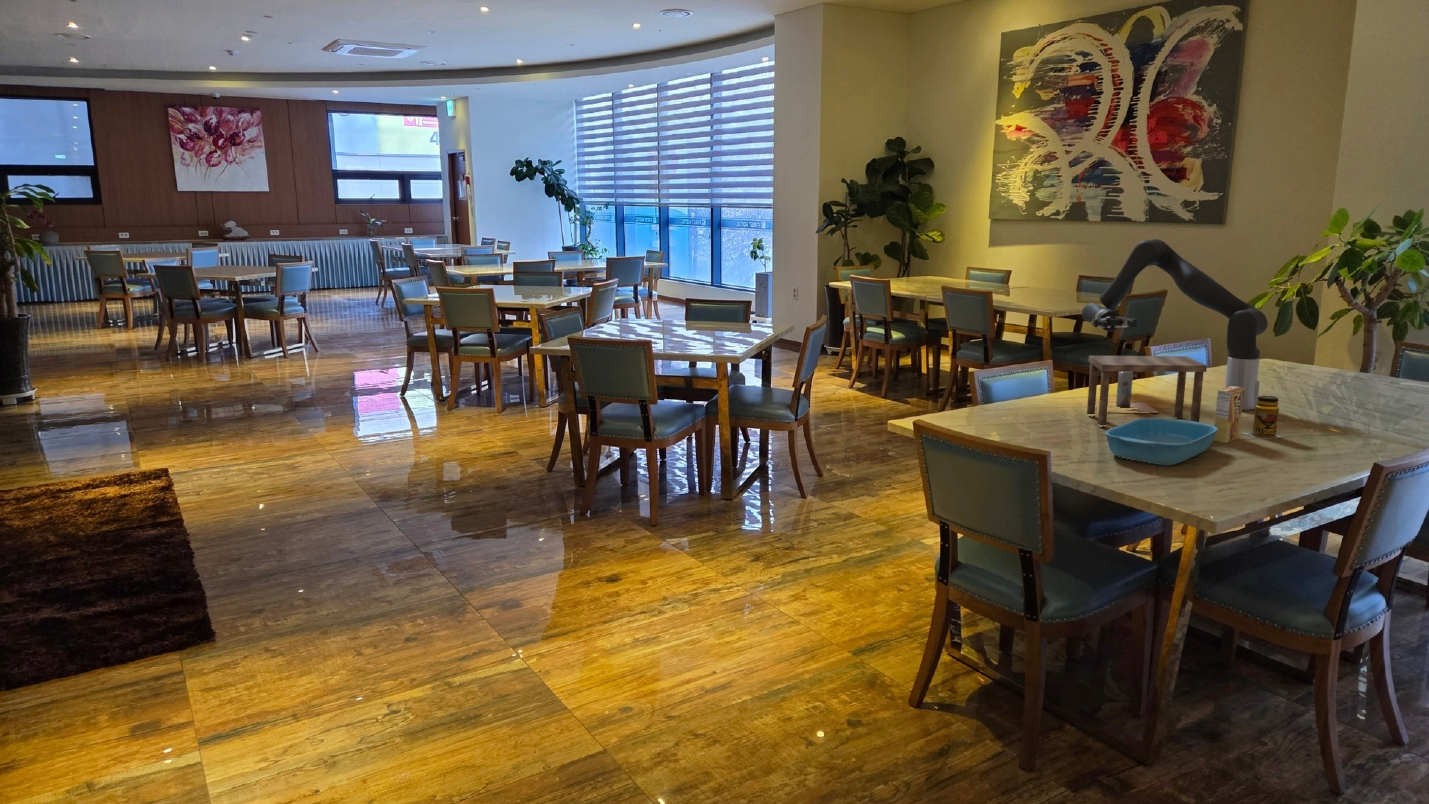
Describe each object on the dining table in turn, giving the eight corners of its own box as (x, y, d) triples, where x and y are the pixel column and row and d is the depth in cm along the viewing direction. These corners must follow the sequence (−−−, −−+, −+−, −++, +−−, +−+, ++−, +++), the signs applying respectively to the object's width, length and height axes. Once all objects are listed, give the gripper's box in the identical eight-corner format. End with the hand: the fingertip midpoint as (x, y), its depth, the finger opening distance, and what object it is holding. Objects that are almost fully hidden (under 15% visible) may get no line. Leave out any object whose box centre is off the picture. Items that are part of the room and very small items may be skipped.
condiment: (1264, 440, 268) (1268, 400, 266) (1240, 433, 276) (1244, 394, 274) (1283, 437, 270) (1288, 398, 268) (1259, 431, 278) (1263, 392, 276)
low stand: (1181, 416, 299) (1186, 356, 295) (1200, 429, 281) (1206, 365, 277) (1084, 415, 304) (1088, 355, 299) (1098, 427, 286) (1102, 364, 282)
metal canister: (1128, 405, 314) (1130, 370, 312) (1132, 408, 310) (1134, 373, 308) (1114, 405, 315) (1116, 370, 313) (1118, 407, 311) (1120, 373, 308)
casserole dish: (1145, 435, 277) (1147, 412, 276) (1225, 448, 261) (1228, 423, 260) (1091, 459, 252) (1093, 434, 251) (1176, 474, 236) (1178, 448, 235)
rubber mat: (1144, 403, 319) (1144, 402, 319) (1158, 413, 304) (1158, 412, 303) (1089, 403, 322) (1090, 401, 322) (1101, 412, 306) (1101, 411, 306)
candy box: (1224, 435, 274) (1229, 385, 270) (1240, 438, 270) (1245, 387, 267) (1212, 440, 268) (1216, 389, 265) (1227, 443, 265) (1232, 391, 262)
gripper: (1087, 309, 335) (1098, 314, 319) (1128, 309, 333) (1141, 313, 317) (1086, 330, 336) (1097, 335, 321) (1127, 329, 334) (1140, 335, 318)
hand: (1119, 324), depth 319 cm, fingers open, 8 cm apart
